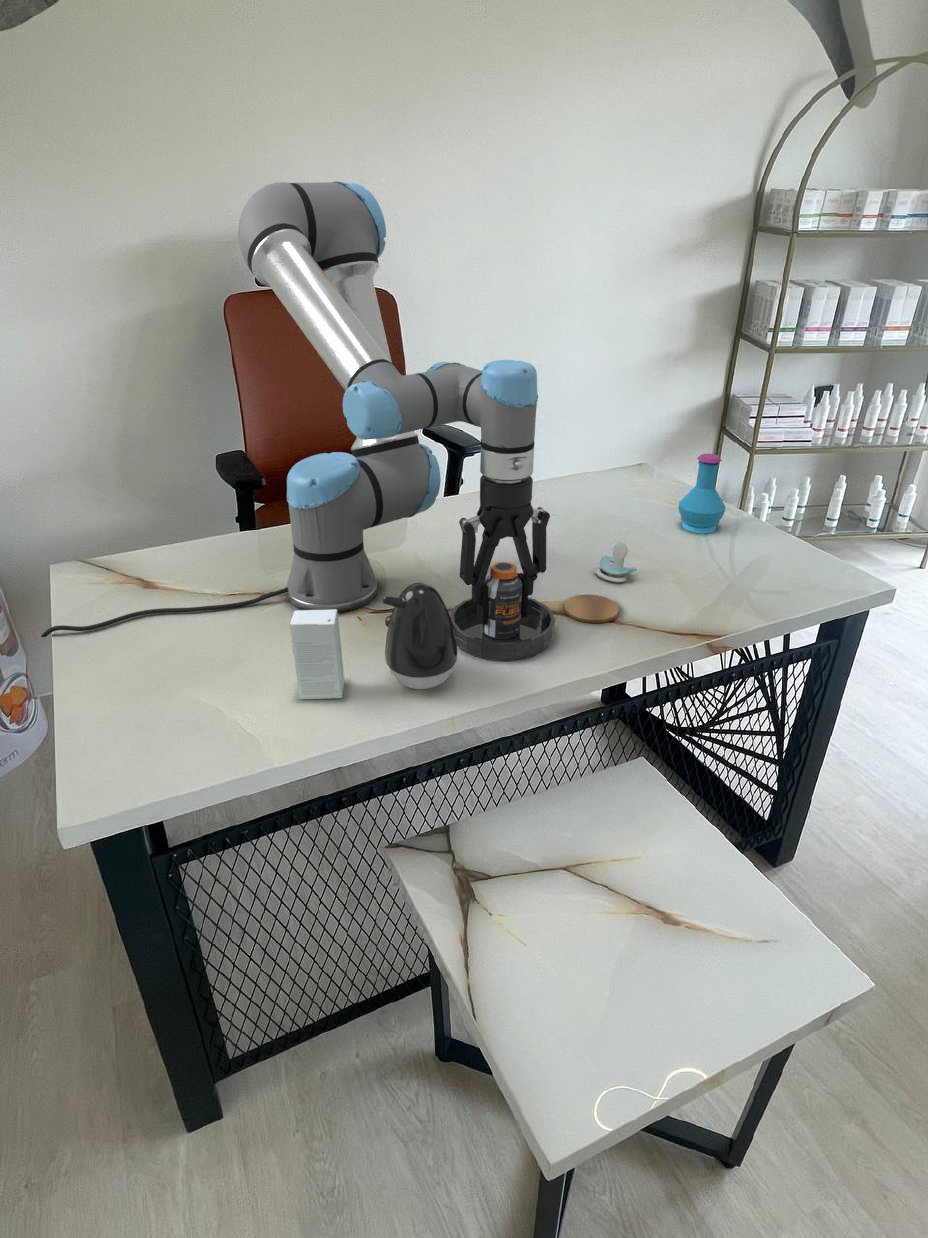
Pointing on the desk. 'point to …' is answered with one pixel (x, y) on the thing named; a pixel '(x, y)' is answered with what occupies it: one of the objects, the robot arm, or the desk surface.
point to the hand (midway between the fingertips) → (501, 616)
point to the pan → (524, 645)
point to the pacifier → (615, 564)
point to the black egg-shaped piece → (420, 638)
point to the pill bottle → (503, 601)
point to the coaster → (591, 608)
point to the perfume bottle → (703, 499)
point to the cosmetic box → (317, 653)
